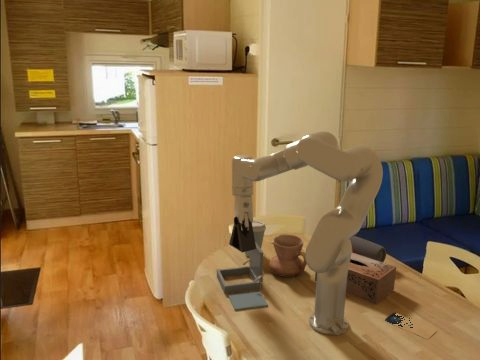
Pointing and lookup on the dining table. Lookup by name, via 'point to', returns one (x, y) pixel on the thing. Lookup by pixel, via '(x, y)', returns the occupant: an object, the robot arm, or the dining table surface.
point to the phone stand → (242, 237)
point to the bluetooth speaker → (367, 249)
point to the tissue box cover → (369, 279)
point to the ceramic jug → (288, 256)
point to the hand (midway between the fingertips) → (242, 238)
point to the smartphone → (396, 319)
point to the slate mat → (247, 300)
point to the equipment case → (253, 270)
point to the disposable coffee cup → (257, 234)
